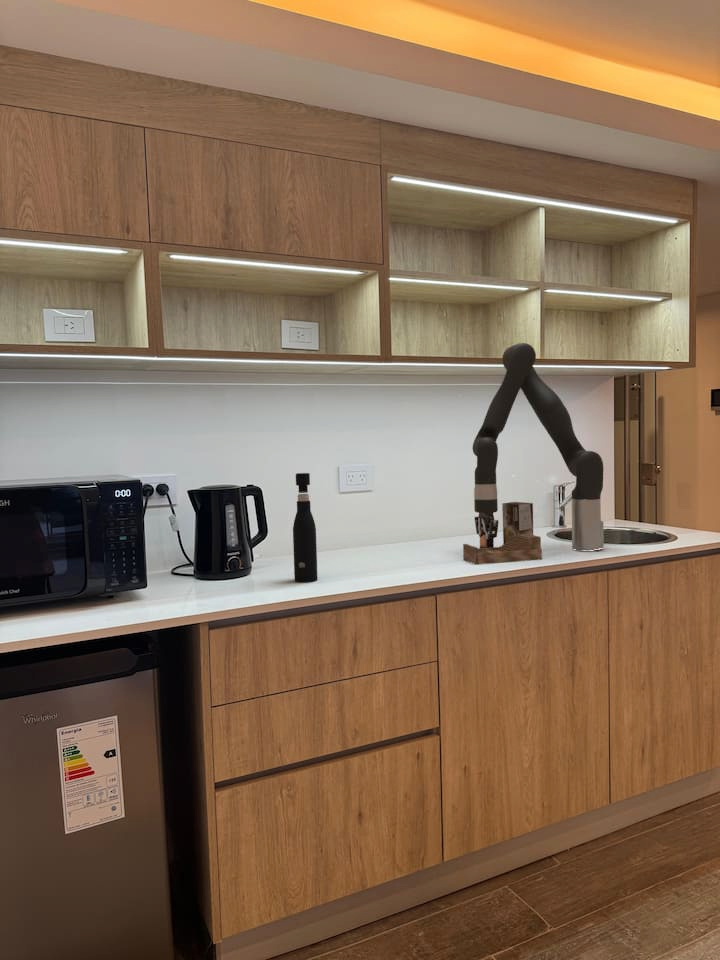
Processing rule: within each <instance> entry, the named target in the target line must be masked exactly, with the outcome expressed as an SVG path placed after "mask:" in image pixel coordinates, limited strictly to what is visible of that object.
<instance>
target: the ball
mask: <svg viewBox="0 0 720 960" xmlns="http://www.w3.org/2000/svg"><path fill="white" fill-rule="evenodd" d="M486 539H487V538H486V534H485V535H483V536H481V538H480V537H479V545H480V544H481V546H482V547H484V548H486ZM493 543H495V539H493Z"/></svg>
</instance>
